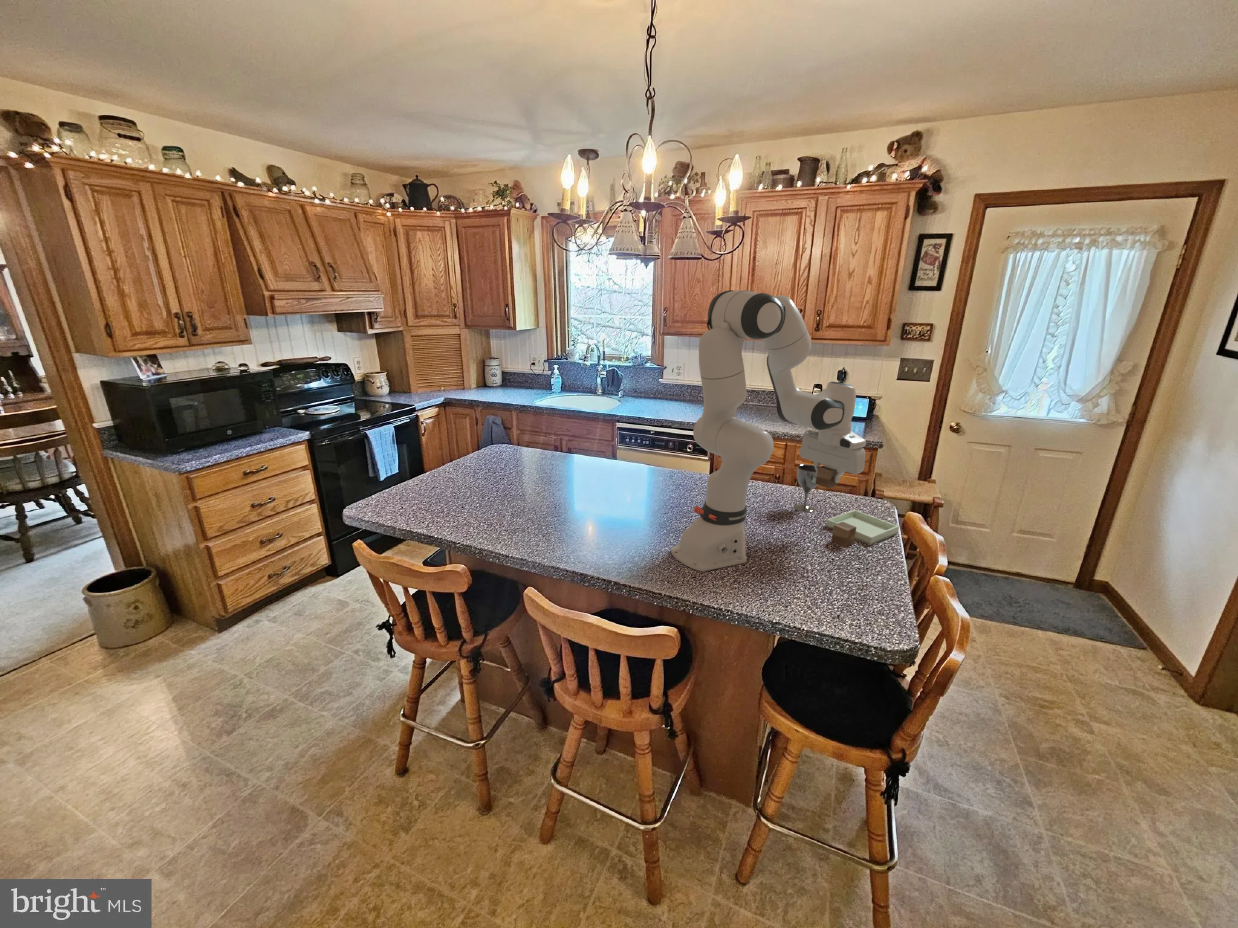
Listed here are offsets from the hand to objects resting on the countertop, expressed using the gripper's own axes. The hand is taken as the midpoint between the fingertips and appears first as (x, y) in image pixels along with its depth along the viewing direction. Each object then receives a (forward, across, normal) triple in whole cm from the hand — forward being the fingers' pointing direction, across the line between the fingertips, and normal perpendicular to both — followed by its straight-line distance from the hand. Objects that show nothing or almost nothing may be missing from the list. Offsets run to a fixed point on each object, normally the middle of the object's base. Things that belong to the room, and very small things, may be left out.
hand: (827, 479), depth 154 cm
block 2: (+17, +9, -2) cm, 20 cm away
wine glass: (+18, -14, +11) cm, 25 cm away
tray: (+17, +7, +12) cm, 22 cm away
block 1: (+2, 0, 0) cm, 2 cm away
